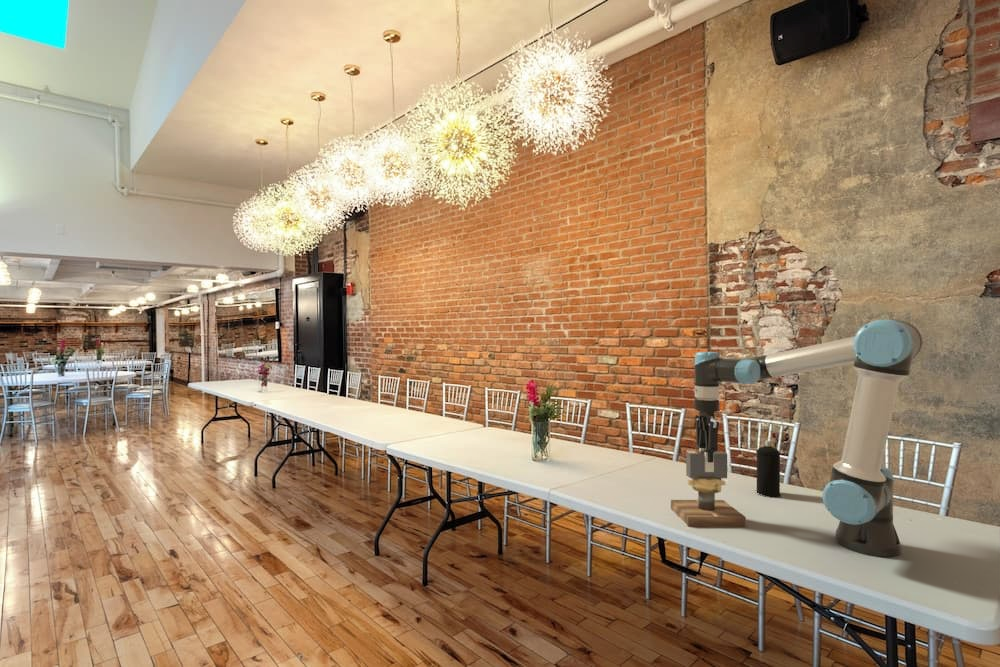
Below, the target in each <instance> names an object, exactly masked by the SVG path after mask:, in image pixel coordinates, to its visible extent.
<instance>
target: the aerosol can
mask: <svg viewBox="0 0 1000 667" xmlns="http://www.w3.org/2000/svg"><path fill="white" fill-rule="evenodd" d="M755 452H756V491H757V493H759V494H762V495H765V496H764V497H766V496H769V497H768V498H779V497H781V492H780V490H781V484H780V483H781V480H780V479H781V452H780V451H779V450H778V449H777V448H775V447H773V446H772V440H769V439H768V440H767V439H766V440H765V444H764V446H760V447H759V448H757V449H756V450H755ZM757 493H756V494H757ZM759 494H758V495H759Z"/></svg>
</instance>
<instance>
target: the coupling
mask: <svg viewBox="0 0 1000 667" xmlns="http://www.w3.org/2000/svg"><path fill="white" fill-rule="evenodd" d="M685 452H686V453H685V455H686V458H685V464H686V465H685V466H686V467H685V468H686V469H685V474H686V475H685V476H687V477H688V478H690V479H688V480H687V485H688V486H691V488H692V490H693V491H696V492H698V491H699V492H704V493H715V494H718V493H721V492H722V486H726V481H725V480H724V479H728V453H726V452H725V451H722V450H721V451H720V450H717V451H715V452H714V472H705V452H704V451H699V450H686V451H685Z"/></svg>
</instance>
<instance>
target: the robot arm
mask: <svg viewBox="0 0 1000 667" xmlns="http://www.w3.org/2000/svg"><path fill="white" fill-rule="evenodd" d="M922 347H923V337H922V333H920V331H919V330H918V329H917V328H916V327H915V325H913V324H911V323H910V322H907V321H904V320H898V319H884V318H881V319H876V320H873V321H870V322H868V323H866V324H864V325H862V326H861V327H860V328H859V329H858V330H857V332H856V333H855V335H854V336H851V337H846V338H841V339H836V340H832V341H827V342H823V343H817V344H813V345H808V346H804V347H799V348H793V349H788V350H784V351H780V352H775V353H771V354H765V355H760V356H755V357H750V358H748V357H747V358H722V357H720V352H717V351H698V352H696V353H695V356H694V364H693V366H694V388H693V390H692V391H693V392H694V397H695V399H694V410H695V411H696V412H698V414H696V415H694V416H695V417H694V418H695V436H696V440H695V441H696V445H698V448H699V450H698V451H704V452H705V472H714V452H715V451H718V443H719V442H718V440H719V439H718V438H719V427H720V426H719V425H720V422H719V421H717V420H716V416H715V413H716V412H719V411H720V401H719V398H720V383H731V384H733V383H734V384H741V385H753V384H757V383H758V381H763V380H767V379H773V378H778V377H783V376H788V375H789V376H790V375H795V374H796V375H797V374H801V373H806V372H813V371H818V370H825V369H830V368H836V367H842V366H849V365H853V369H854V370H855V371H856V372H857V373H858V374H857V375H858V376H857V383H856V388H855V392H854V396H853V403H852V407H851V411H850V416H849V421H848V425H847V430H846V436H845V439H844V445H843V450H842V455H841V460H839V461H836V462H834V463H833V465H832V470H831V474H830V478H829V482H828V483H827V484H826V485H825V486H824V488H823V491H822V502H823V506H824V507H825V508H826V509H827V511H828V512H829V514H830V515H831V516H832V517H833V518H835V519H836V520H838V521H839V523H838V526H837V528H836V529H835V541H836V542H837V543H838V544H839V545H840V546H842V547H845V548H847V549H849V550H851V551H854V552H858V553H861V554H863V555H869V556H870V555H871V556H874V557H875V556H876V557H896V556H899V555H900V554H901V553H902V544H901V541H900V538H899V536H898V533H897V530H896V527H895V525H894V482H895V479H894V473H893V471H892V470H891V469H890V468H888V467H885V466H882V464H883V459H884V455H885V450H886V444H887V441H888V436H889V432H890V427H891V423H892V422H891V421H892V417H893V413H894V408H895V404H896V401H897V400H896V399H897V395H898V390H899V386H900V382H901V381H904V380H905V379H906V378H908V377H909V376H910V375H909V374H910V371H911V366H912V362H913V359H914V358H915V357H917V356H918V355H919V353H920V352H921V350H922Z"/></svg>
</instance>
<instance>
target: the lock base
mask: <svg viewBox="0 0 1000 667" xmlns="http://www.w3.org/2000/svg"><path fill="white" fill-rule="evenodd" d="M697 492H698V494H697V495H698V496H697V497H698V498H696V499H670V509H671V510H672V511H673V513H674V514H675V515H676V516H677V517H678V518H679V517H680V518H681V519H682V520H683V521H684V522H685V523H686V524H687V525H686V524H685V523H684V522H683V523H684V524H685V525H686V526H687V527H746V520H747V519H746V517H747V516H745V515H744V514H743V513H741V512H740V511H739V510H737V509H736V508H734V507H733V506H732V505H730V503H728V502H726V501H725V500H724V499H715V498H716V496H715V494H716V493H704V492H699V491H697ZM680 518H679V519H680ZM681 519H680V520H681ZM682 520H681V521H682Z"/></svg>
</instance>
